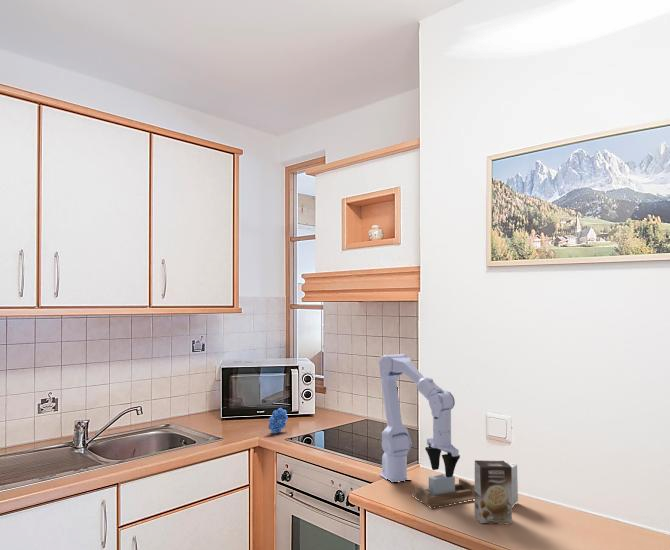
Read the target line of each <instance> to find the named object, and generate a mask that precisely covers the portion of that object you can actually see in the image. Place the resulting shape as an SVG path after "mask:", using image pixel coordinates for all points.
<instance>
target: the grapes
mask: <svg viewBox="0 0 670 550" xmlns="http://www.w3.org/2000/svg"><path fill="white" fill-rule="evenodd" d="M287 413H288V411H287V410H286V409H283V408H282V407H278V408H277V410H276V409H275V410H273V411H272V415H271V416H270V417H269V418H268V422H269V424H268V427H267V428H268V429H269V430H270V433H271V434H280V433H281V432H282V429H285V428H286V427H287V426H286V425H287V423H286V422H287V421H288V418H289V417H288V415H287Z"/></svg>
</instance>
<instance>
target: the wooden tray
mask: <svg viewBox="0 0 670 550" xmlns="http://www.w3.org/2000/svg"><path fill="white" fill-rule="evenodd" d="M412 495H413V496H414V497H416V498H417V499H419V500H420V501H422V502H423V503H425V504H426V505H428V506H430V507H431V508H434V507H439V506H445V505H449V504H454V503H459V502H464V501H468V500H473V499H475V484H473V483H471V482H469V481H467V480H465V479H463V478H458V483H455V492H450V493H445V494H439V495H433V496H430V492H429V488H423V487H421V486H420V485H415V492H412V493H411V496H412ZM414 497H413V498H414ZM417 499H416V500H417ZM420 501H419V502H420ZM423 503H422V504H423ZM426 505H425V506H426ZM428 506H427V507H428ZM445 507H446V506H445ZM431 508H430V509H431Z"/></svg>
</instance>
